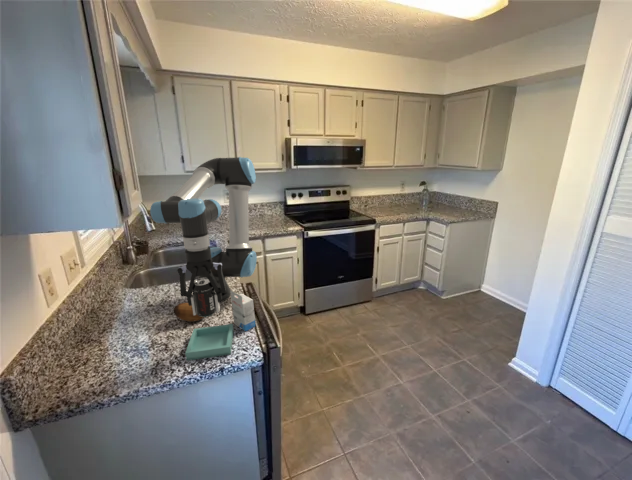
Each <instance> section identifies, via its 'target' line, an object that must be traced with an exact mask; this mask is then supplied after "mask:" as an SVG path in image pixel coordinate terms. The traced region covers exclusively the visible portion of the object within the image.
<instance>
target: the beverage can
mask: <svg viewBox="0 0 632 480" xmlns="http://www.w3.org/2000/svg"><path fill="white" fill-rule="evenodd" d="M192 291H193V292H192V294H193V297H194V304H195V310H196V314H197V315H198V316H201V317H204V318H207V317H211V316H213V315H214V314H215V313H217V311H216V303H215V296H214V295H215V290H214V288H213V286H212V285H211V283H210V281H209V280H208V278H200V279H198V278H196V280H195V282H194V285H193V287H192Z"/></svg>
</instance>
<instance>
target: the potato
mask: <svg viewBox="0 0 632 480" xmlns="http://www.w3.org/2000/svg"><path fill="white" fill-rule="evenodd" d="M172 311H173V314H174V315H175V317H176V318H178V319H180V320H182V321H186V322H190V323H191V322H198V321H201V320H202V319H204V318H205V317H201V316H198V315H197V314H196V315H193V309H192V306H189V304H188V302H183V303H178V304H177V305H175V306H174V308H173V310H172Z"/></svg>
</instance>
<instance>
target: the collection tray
mask: <svg viewBox="0 0 632 480" xmlns="http://www.w3.org/2000/svg"><path fill="white" fill-rule="evenodd" d="M234 330H235V329H234V324H233V323H228V324H227V323H226V324H221V325H213V326H206V327H205V326H204V327H198V328H193V330H192V332H191V336H190V338H189V341H188V345H187V347H186V350H185V352H184V353H185V354H184V355H185V359H186V361H187V362H188V361H189V362H190V361H194V360H202V359H210V358H216V357H222V356H229V355H232V347H233V339H234Z"/></svg>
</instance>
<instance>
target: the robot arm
mask: <svg viewBox="0 0 632 480" xmlns="http://www.w3.org/2000/svg"><path fill="white" fill-rule="evenodd" d="M256 179H257V176H256V170H255V166H254V164H253V161H252V159H250V158H248V157H241V156H239V157H215V158H213V159H209V160H206V161H205V162H203V163H202V164H200V165H199V166H198V167H196V168H195V169H194V170H193V173H192V175H191V176H190V177H189V178H188V179H187V180H186V181H185V182H184V183H183V184H182V185H181V186H180V187H178V188H177V190H176V191H174V192H173V193H172V194H171V195H170V196H169V197H168V198H167V199H166V200H165V201H163V200H160V201H154V202H153V203H152V204H151V205H150V210H149V212H150V216H151V219H152V220H153V222H155V223H157V224H166V225H167V224H180V228H181V233H182V240H183V247H184V250H185V251H184V252H185V261H186V264H185V265H180V266H178V268H177V272H178V275H179V290H180V296H181V297H186V298H187V303H188V304H189V306H192V309H193V315H196V310H195V304H194V297H193V291H192V287H193V285H194V282H195V280H197V279H200V278H208V280H209V281H210V283H211V285H212V286H213V288H214V290H215V295H214V296H215V303H216V314H217V313H220V310H221V307H220V306H221V305H220V303H222V302H224V301H226V300H228V299H229V298H231V292H230V291H232V290H231V287H230V286H229V284H228V282H227V280H226V278H248V277H249V278H250V277H251V276H252V275H253V274H254V272H255V270H256V268H257V260H258V259H257V258H258V257H257V253H256V251H254V250H253V247H252V245H251V244H250V237H249V236H250V230H249V228H250V227H249V226H250V225H249V223H250V221H249V219H250V218H249V191H250V190H252V187H253V184H256ZM216 185H224V186H225V187H224V188H225V189H226V190H227V191H228V215H229V216H228V221H229V222H228V224H229V225H228V228H229V229H228V230H229V231H228V232H229V233H228V237H229V238H228V239H229V241H228V242H229V244H228V245H227V246H226V247H225V251H223V249H222V247H217V246H216V247H215V246H214V247H210V245H211V243H210V237H209V236H210V235H209V229H208V224H210V223H212V222H215V221H216V220H218V219H219V218H220V217H221V215H222V207H221V204H220V203H219V202H218V201H217V200H215V199H211V198H209V199H205V200H203V199H202V198H200V197H201V196H202V195H203V194H204V193H205V191H206V190H208V189H210V188H212V187H214V186H216ZM187 270H188V271H189V273H191V277H190V281H189V286H188V290H187V281H186V279H187V278H186V272H187Z"/></svg>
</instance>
